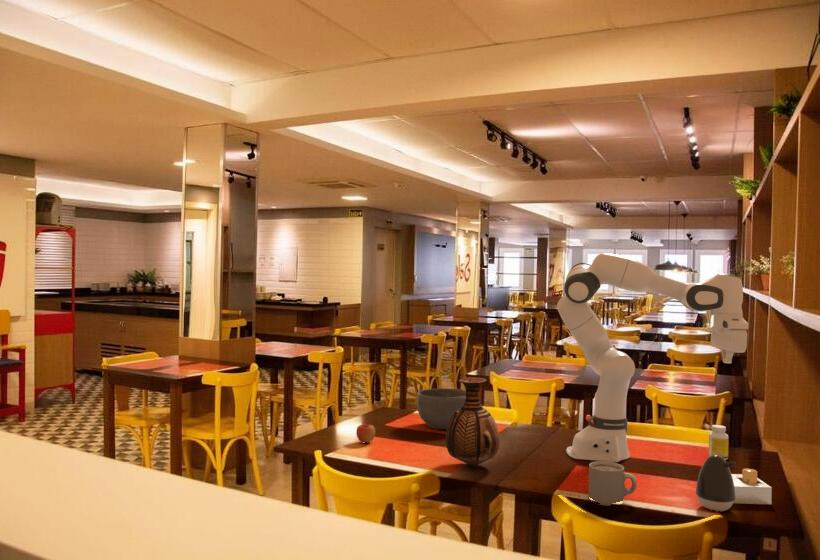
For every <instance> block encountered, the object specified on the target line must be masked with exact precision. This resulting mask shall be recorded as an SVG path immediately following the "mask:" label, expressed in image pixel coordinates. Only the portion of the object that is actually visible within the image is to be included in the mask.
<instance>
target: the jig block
mask: <svg viewBox="0 0 820 560" xmlns="http://www.w3.org/2000/svg"><path fill="white" fill-rule="evenodd" d="M731 475H732V478H733V482H734V488H735V500H734V501H733V504H744V505H745V504H746V505H748V504H749V505H772V492H773V491H772V490H773V489H772V488H773V487H772V486H770V485H769V484H767V483H766V482H764V481H763V480H761V479H760V478H758V477H757V484H756V483H743V482H742V473H741V474H740V473H731Z"/></svg>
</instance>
